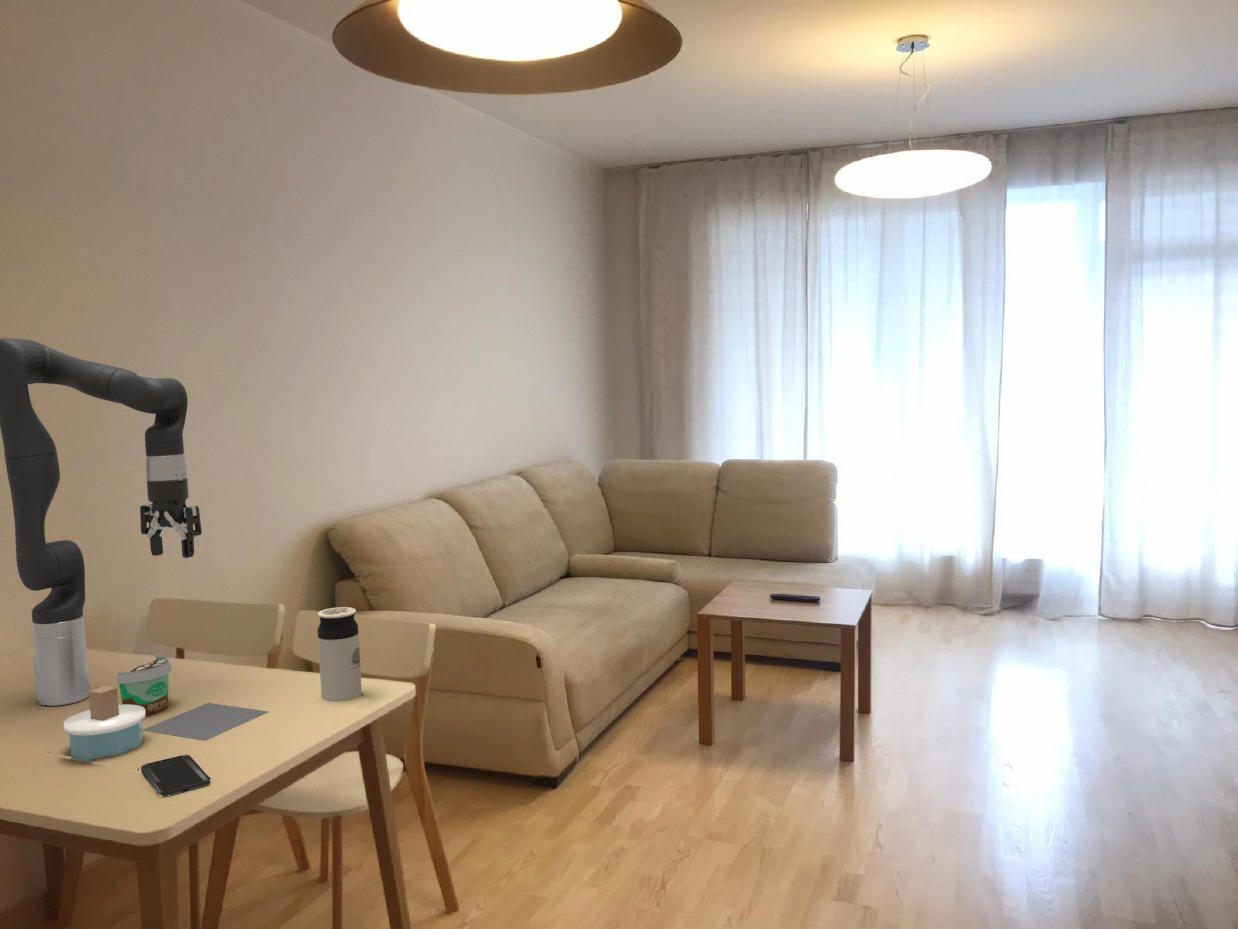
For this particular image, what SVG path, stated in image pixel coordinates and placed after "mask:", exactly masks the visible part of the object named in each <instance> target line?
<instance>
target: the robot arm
mask: <svg viewBox="0 0 1238 929" xmlns="http://www.w3.org/2000/svg"><path fill="white" fill-rule="evenodd" d="M34 384H48V385H59V386H65V387H68V388H72V389H75V390H76V391H78V392H80V393H83V394H85V395H87V396H89V397H91V398H92V397H93V398H96V399H99V400H103V401H106V402H111V403H116V404H122V405H124V406H125V407H127V408H130V409H133V410H134V411H137V412H140V413H146V414H151V415H155V416H154V423H153V424H152V425H151V426H149V427H148V428H147V429H146V430H145V432H144V444H145V445H144V447H145V476H146V477H145V478H146V490H147V492H146V493H147V501H149V503H150V504H144V505H143V504H142V505H141V506H140V507H139V510H140V511H139V513H140V533H141V535H146V536H147V537H148V538H149V545H150V546H149V547H150V553H151V555H152V556H155V557H157V556H162V555H163V554H164V546H163V537H162V534H163V533H164V530H165V529H166V528H169V529H170V528H172V529H173V530H174V531H175V532H177V533H178V534H179V535H180V538H181V539H180V540H181V543H180V544H181V555H182V558H184V559H189V558H192V557H194V554H195V540H194V539H195V538H196V537H198V536H200V535H202V532H203V531H202V523H201V515H200V508H199V506H198V505H192V506H187V505H186V504H187V503H186V500H188V499H189V497H190V496H189V485H188V484H189V483H188V482H189V481H188V480H189V479H188V466H187V462H186V456H185V450H184V449H185V448H184V446H185V445H184V434H183V432H184V429H185V424H186V418H187V410H188V406H189V405H188V394H187V391H186V388H185V386H184V384H182V383H181V381H179V380H178V379H175V378H170V377H169V378H168V377H166V378H165V377H161V378H159V377H158V378H157V377H155V378H152V377H146V376H142V375H141V376H140V375H138V374H137V373H135V372H134V371H131V370H129V369H125V368H121V367H117V366H113V365H109V364H103V363H100V362H94V361H89V360H85V359H81V358H77V357H74V356H72V355H68V354H66V353H63V352H61V351H59V350H57V349H55V348H52V347H49V346H47V345H45V344H43V343H40V342H37V341H36V340H32V339H26V338H25V339H23V338H8V337H7V338H6V337H3V338H0V432H1V433H0V434H1V440H2V444H3V454H4V459H5V460H4V461H5V467H6V468H5V469H6V474H7V479H8V484H9V489H10V495H11V503H12V510H13V517H14V518H13V519H14V533H15V534H14V536H15V555H16V557H15V559H16V566H17V567H16V568H17V572H18V576H19V579H20V580H21V583H22V584H23V585H24V587H25V588H26V589H28V590H30V591H35V592H37V591H42V590H48V589H50V592H49V593H48V595H47V596H46V597H45V598H44V599H43V600H42V601H41V602H39V603H37V605H35V606H34V607H33V608H32V609H31V624H32V632H33V633H32V634H33V642H34V644H33V645H34V653H35V654H34V656H33V657H32V662H33V664H32V665H33V673H34V685H35V692H36V693H35V695H36V701H37V702H39V704H40V705H42V706H45V705H47V706H46V707H54V706H56V707H57V706H65V705H69V704H70V705H71V704H74V703H77V702H80V701H83V700H85V699H87V698H89V691H90V681H89V668H88V657H87V656H88V655H87V644H86V633H85V621H84V620H85V618H84V606H85V603H86V573H85V572H86V571H85V568H86V567H85V559H84V556H83V553H82V550H81V549H80V547H79V546H78V544H77V543H76V542H74V541H72V540H68V539H62V540H56V541H51V542H50V541H49V542H46V533H45V532H46V531H45V530H46V528H45V525H46V516H47V513H48V511H49V508H50V506H51V503H52V501H53V499H54V497H55V494H56V492H57V489H58V487H59V484H60V479H61V472H60V465H59V458H58V451H57V447H56V444H55V442H54V439H53V438H52V436H51V435H50V433H49V431H48V430H47V428H46V427H45V426H44V424H43V423H42V421H41V420H40V419H39V417H38V415H37V413H36V411H35V410H34V408H33V404H32V401H31V396H30V391H29V385H34ZM147 525H148V526H147Z"/></svg>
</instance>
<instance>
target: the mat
mask: <svg viewBox="0 0 1238 929" xmlns="http://www.w3.org/2000/svg"><path fill="white" fill-rule="evenodd" d="M268 713H270V711H268V710H261V709H255V708H247V707H242V706H241V707H240V706H233V705H227V704H220V703H212V702H206V703H204V704H203V705H200V706H197V707H194V708H192V709H190V710H187V711H185V712H182V713H180V714H177V715H175V716H172V717H170V718H167V719H165V720H163V721H161V722H157V723H155V724H152V725H150V726H147V727H146V728H142V732H151V733H155V734H160V735H161V734H162V735H167V736H173V737H179V738H180V737H181V738H186V739H192V740H198V741H203V742H205V741H208V740H210V739H212V738H215V737H218V735H221V734H223V733H225V732H228V731H230V730H232V729H235V728H237V727H239V726H240V725H243V724H245V723H248V722H250V721H252V720H255V719H258V717H262V716H264V715H266V714H268Z"/></svg>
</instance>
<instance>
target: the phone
mask: <svg viewBox="0 0 1238 929" xmlns="http://www.w3.org/2000/svg"><path fill="white" fill-rule="evenodd" d="M140 770H141V772H140V773H142V774H143V776H144V777H145V779H146V778H147V779H146V780H147V782H148V781H149V782H150V783H149V782H148V783H149V785H152V786H153V787H154V789H155V790H156V791H157V793H158V794H159V795H162V796H168V795H172V794H176V795H179V794H182V793H186V792H191V791H195V790H198V789H202V788H206V787H208V786H210V785H211V777H209V775H208V774H207V772H205V771H204V770H203V768H201V766H200V765H199V764H198V763H197V762H196V761H195V760H194V758H192V756H191V755H190V754H181V755H177V756H174V757H169V758H165V759H160V760H156V761H152V762H149V763H144V764H143V765H141V767H140ZM152 786H151V787H152ZM153 787H152V788H153ZM154 789H153V790H154ZM155 790H154V791H155ZM156 791H155V792H156ZM157 793H156V794H157ZM158 794H157V795H158ZM172 796H173V795H172ZM168 797H169V796H168Z"/></svg>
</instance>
